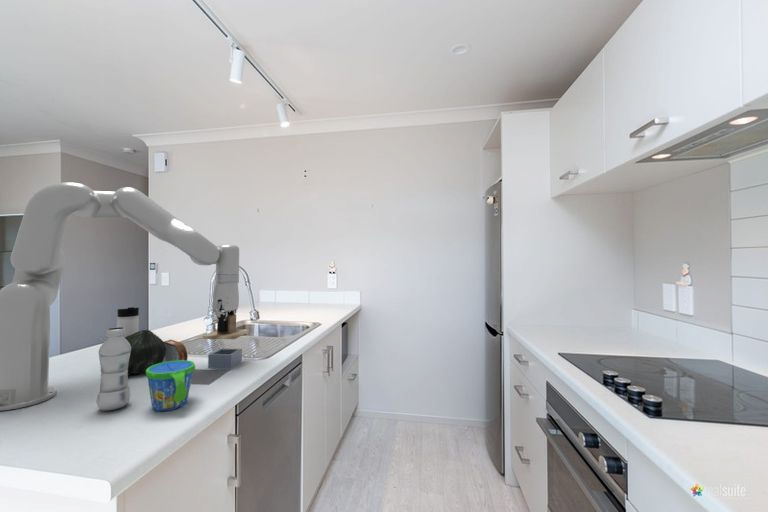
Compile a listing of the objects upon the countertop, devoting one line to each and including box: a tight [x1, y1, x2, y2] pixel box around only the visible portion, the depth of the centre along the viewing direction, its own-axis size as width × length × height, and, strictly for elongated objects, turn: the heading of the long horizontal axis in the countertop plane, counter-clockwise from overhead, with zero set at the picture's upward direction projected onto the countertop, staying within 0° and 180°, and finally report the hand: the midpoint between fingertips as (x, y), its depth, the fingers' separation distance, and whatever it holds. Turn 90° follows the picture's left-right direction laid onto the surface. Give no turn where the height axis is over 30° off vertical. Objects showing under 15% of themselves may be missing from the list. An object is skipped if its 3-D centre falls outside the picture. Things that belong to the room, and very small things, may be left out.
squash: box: [125, 329, 166, 375], centre depth 107 cm, size 14×15×15 cm
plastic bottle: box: [96, 326, 131, 412], centre depth 81 cm, size 6×7×20 cm
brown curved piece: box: [163, 339, 188, 362], centre depth 115 cm, size 15×3×8 cm, turn 58°
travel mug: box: [116, 306, 140, 338], centre depth 119 cm, size 6×7×20 cm
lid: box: [202, 314, 250, 340], centre depth 115 cm, size 11×11×7 cm
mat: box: [190, 368, 231, 386], centre depth 103 cm, size 13×13×1 cm
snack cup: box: [145, 359, 196, 412], centre depth 83 cm, size 16×10×10 cm
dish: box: [207, 348, 243, 370], centre depth 115 cm, size 8×8×5 cm
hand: (226, 329), depth 115 cm, fingers closed on lid, 4 cm apart
